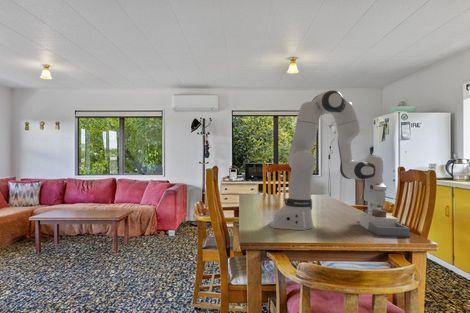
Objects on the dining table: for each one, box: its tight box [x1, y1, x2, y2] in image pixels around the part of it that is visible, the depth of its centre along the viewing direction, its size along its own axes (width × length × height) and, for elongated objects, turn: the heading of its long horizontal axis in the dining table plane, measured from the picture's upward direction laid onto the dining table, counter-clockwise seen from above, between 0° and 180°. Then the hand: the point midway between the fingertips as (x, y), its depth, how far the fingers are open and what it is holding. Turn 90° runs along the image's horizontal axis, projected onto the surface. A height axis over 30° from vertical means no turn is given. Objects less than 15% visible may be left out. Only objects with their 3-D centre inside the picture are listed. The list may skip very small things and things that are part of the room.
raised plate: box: [359, 212, 399, 231], centre depth 160 cm, size 14×12×6 cm
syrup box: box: [367, 201, 384, 214], centre depth 179 cm, size 6×6×14 cm
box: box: [368, 222, 411, 238], centre depth 148 cm, size 14×12×4 cm
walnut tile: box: [372, 209, 387, 217], centre depth 159 cm, size 5×5×3 cm
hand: (373, 211), depth 166 cm, fingers closed
